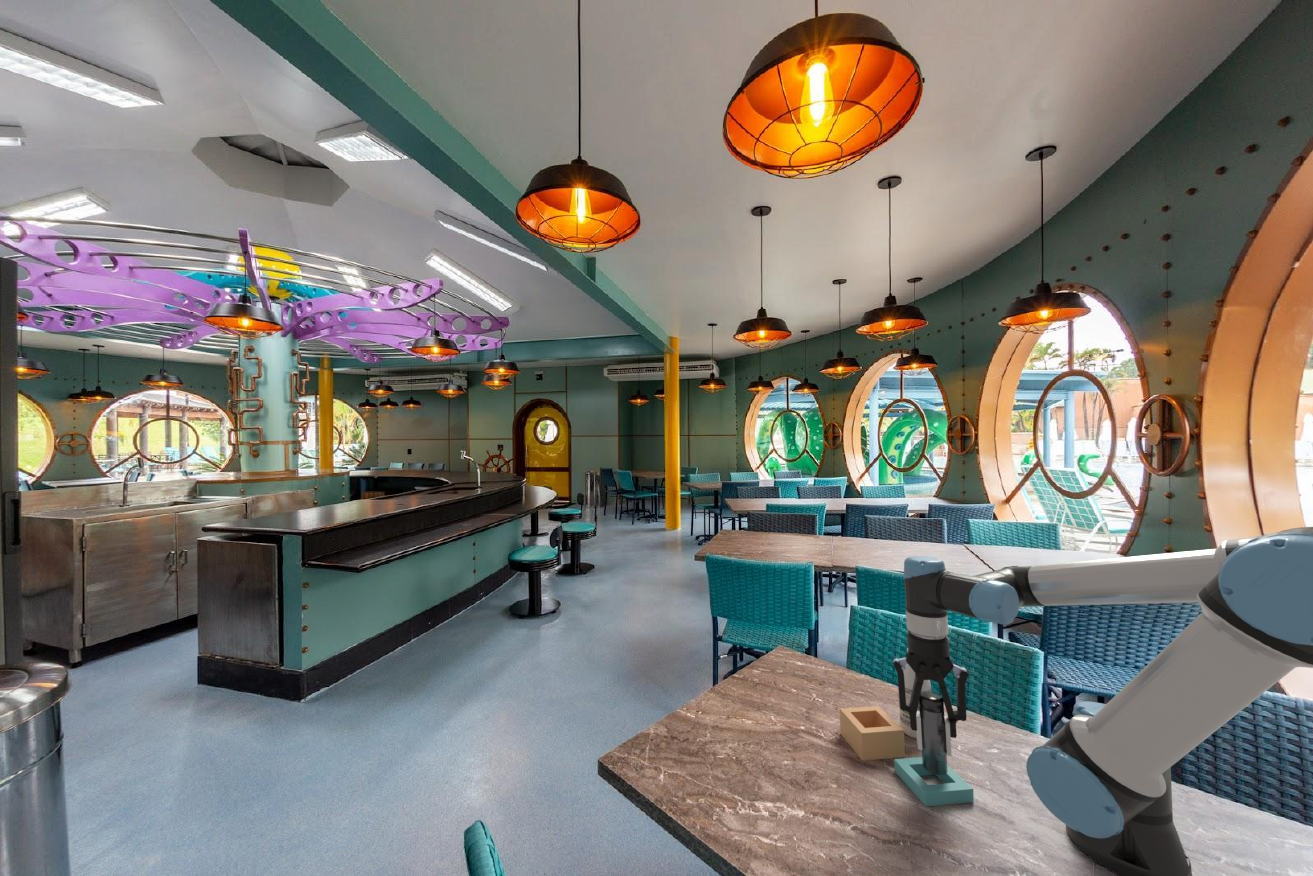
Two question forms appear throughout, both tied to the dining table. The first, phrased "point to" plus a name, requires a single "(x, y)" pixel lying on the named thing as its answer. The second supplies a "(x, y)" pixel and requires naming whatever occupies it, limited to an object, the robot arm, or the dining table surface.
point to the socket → (872, 733)
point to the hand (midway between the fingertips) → (933, 748)
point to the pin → (933, 733)
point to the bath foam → (909, 681)
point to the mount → (936, 793)
